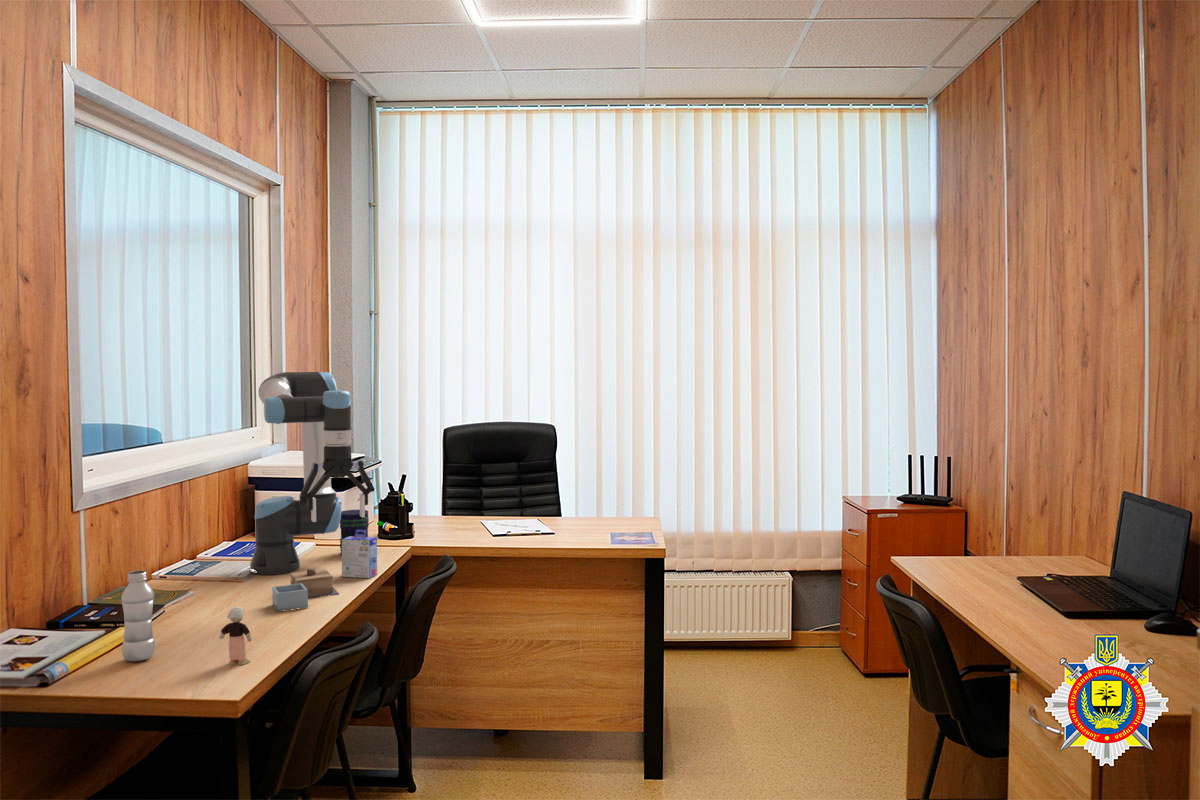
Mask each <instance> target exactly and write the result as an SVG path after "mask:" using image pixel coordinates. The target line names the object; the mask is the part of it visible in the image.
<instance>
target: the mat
mask: <svg viewBox="0 0 1200 800" xmlns="http://www.w3.org/2000/svg"><path fill="white" fill-rule="evenodd" d="M328 595H330V596H337V595H340V593H339V592H338V590H336V589H335V588H334V587H333V593H330V594H322V595H315V596H308V599H312V598H311V597H315V598H321V597H320V596H323V597H329V596H328Z"/></svg>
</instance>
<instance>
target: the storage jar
mask: <svg viewBox="0 0 1200 800" xmlns="http://www.w3.org/2000/svg"><path fill="white" fill-rule="evenodd" d="M369 525H370V524H369V510H366V509H365V517H361V516H360V509H347V510H341V519H340V524H339V529H340V540H339V542H340V544H339V548H340V556H341V555H342V539H344V538H346V537H350V536H352V537H354V536H355V533H356V530H357V529H358V530H367V531H366V537H369ZM357 534H364V532H358V533H357Z"/></svg>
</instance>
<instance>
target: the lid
mask: <svg viewBox="0 0 1200 800" xmlns="http://www.w3.org/2000/svg"><path fill="white" fill-rule="evenodd" d="M289 573H290V585H292V584H300V583H302V584H303V585H304V586H305V587H306V588H307V590H308V596H315V595H322V594H330V593H333V588H334V586H333V584H334V583H333V575H332V574H331V573H330V572H329V571H328V570H327V569H326V568H321V569H316V568H307V569H306V570H305V571H304V570H303V571H297V572H289Z"/></svg>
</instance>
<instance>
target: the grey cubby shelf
mask: <svg viewBox="0 0 1200 800" xmlns="http://www.w3.org/2000/svg"><path fill="white" fill-rule="evenodd" d="M271 590H272V591H271V593H272V594H271V595H272V597H271V598H272V604H273V605H272V606H273V608H274V607H275V608H274V609H276V610H277V611H281V612H284V611H283V610H289V611H292V610H291V609H296V610H298V609H297V608H303V609H307V608H306V607H308V608H309V605H308V604H309V598H308V590H307V588H306V587H305V586H304V585H303V584H302V583H300V584H292V585H291V584H284V585H277V586H271ZM276 610H275V611H276ZM277 611H276V612H277Z"/></svg>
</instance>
